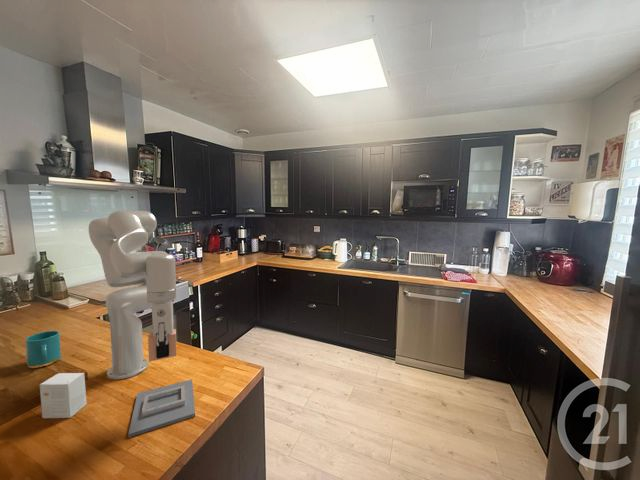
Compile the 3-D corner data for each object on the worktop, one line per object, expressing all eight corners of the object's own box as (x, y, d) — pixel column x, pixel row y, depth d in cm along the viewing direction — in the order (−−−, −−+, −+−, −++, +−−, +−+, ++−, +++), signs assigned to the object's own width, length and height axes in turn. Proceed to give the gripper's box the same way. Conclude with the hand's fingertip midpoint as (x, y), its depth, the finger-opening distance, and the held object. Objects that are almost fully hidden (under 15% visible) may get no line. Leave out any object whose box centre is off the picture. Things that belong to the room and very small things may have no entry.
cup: (27, 376, 92) (25, 346, 91) (27, 363, 100) (25, 335, 99) (62, 365, 99) (60, 337, 98) (60, 354, 107) (58, 328, 106)
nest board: (137, 396, 83) (137, 388, 83) (192, 381, 91) (192, 375, 91) (128, 437, 67) (127, 429, 67) (195, 416, 75) (194, 408, 75)
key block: (176, 349, 81) (175, 328, 81) (176, 355, 78) (175, 333, 77) (150, 355, 78) (149, 333, 77) (148, 361, 74) (148, 338, 74)
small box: (87, 404, 79) (85, 372, 78) (70, 418, 73) (68, 384, 73) (60, 404, 79) (58, 372, 78) (41, 418, 73) (39, 384, 72)
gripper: (175, 301, 71) (177, 364, 72) (176, 287, 85) (177, 339, 87) (143, 305, 67) (145, 371, 69) (149, 289, 82) (151, 344, 83)
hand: (163, 352), depth 78 cm, fingers closed on key block, 4 cm apart
